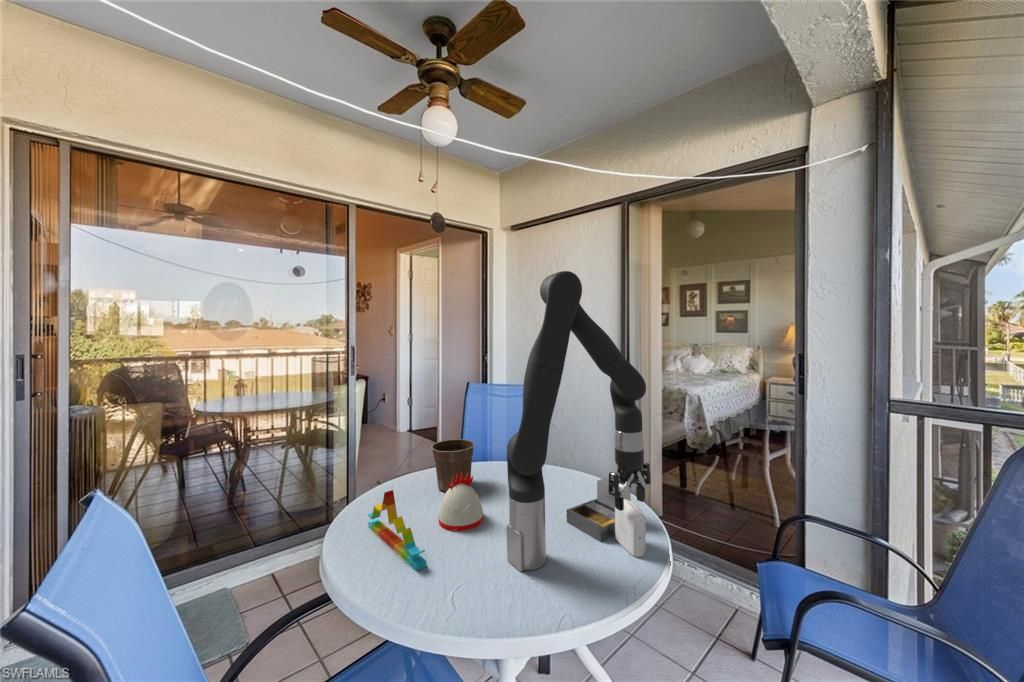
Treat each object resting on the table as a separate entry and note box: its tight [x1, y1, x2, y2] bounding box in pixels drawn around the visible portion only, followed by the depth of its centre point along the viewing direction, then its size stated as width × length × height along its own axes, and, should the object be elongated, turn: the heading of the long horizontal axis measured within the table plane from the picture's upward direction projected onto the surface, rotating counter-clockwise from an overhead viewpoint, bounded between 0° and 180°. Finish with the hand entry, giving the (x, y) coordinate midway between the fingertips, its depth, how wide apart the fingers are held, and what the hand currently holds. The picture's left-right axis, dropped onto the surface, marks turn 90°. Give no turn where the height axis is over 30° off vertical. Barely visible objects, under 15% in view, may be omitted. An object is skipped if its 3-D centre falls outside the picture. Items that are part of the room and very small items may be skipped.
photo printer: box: [614, 499, 647, 558], centre depth 111 cm, size 10×4×12 cm, turn 17°
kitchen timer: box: [438, 473, 484, 532], centre depth 129 cm, size 14×14×15 cm
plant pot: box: [431, 438, 475, 493], centre depth 155 cm, size 16×16×16 cm
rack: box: [566, 477, 632, 543], centre depth 125 cm, size 17×14×11 cm
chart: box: [367, 489, 427, 572], centre depth 115 cm, size 30×3×15 cm, turn 41°
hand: (630, 505), depth 111 cm, fingers open, 8 cm apart
